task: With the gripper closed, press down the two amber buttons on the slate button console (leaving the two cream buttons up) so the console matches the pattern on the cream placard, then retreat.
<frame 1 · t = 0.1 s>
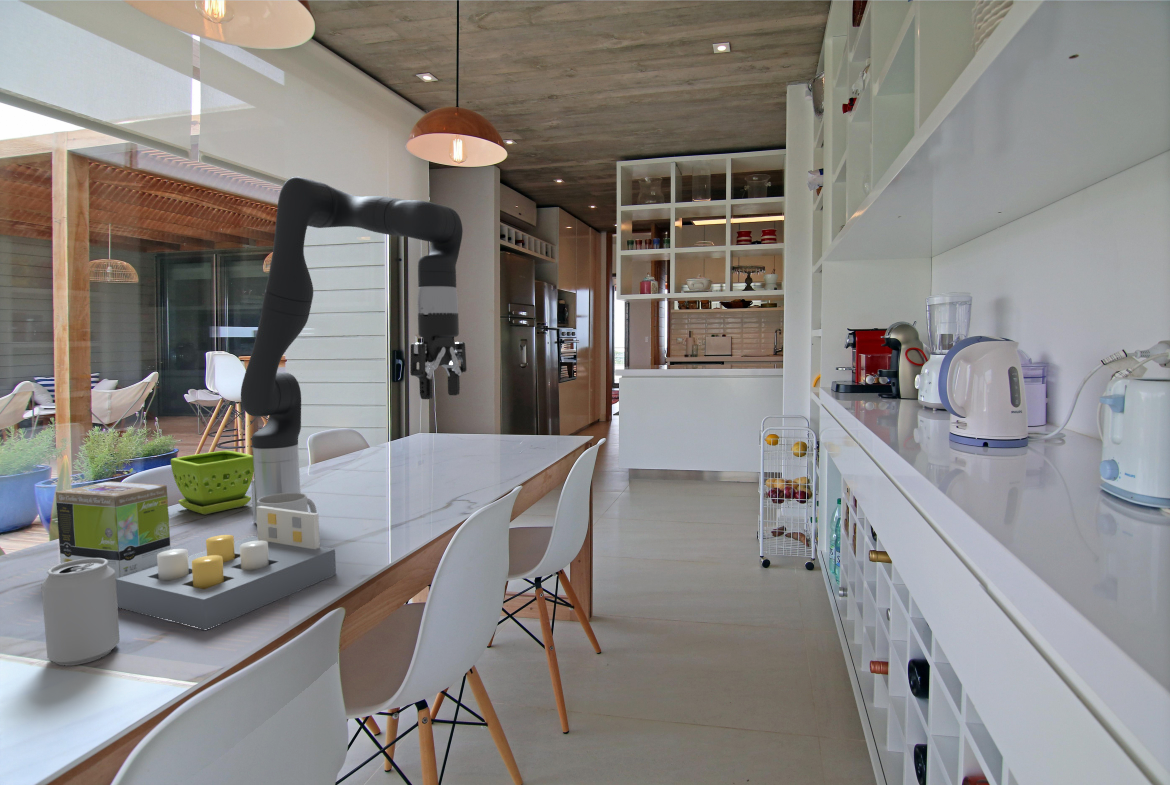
hand: (440, 397, 127), 29 cm above the table, fingers open, 8 cm apart
flower pot: (215, 508, 161), on the table
button amber 2: (208, 575, 99), point 5 cm above the table, slide at 0.0 cm
button cream 1: (173, 568, 102), point 5 cm above the table, slide at 0.0 cm
can: (85, 656, 86), on the table
button amber 1: (220, 553, 109), point 5 cm above the table, slide at 0.0 cm
console: (233, 590, 107), on the table
mug: (290, 547, 130), on the table
button cream 2: (254, 559, 106), point 5 cm above the table, slide at 0.0 cm
tea box: (117, 569, 118), on the table
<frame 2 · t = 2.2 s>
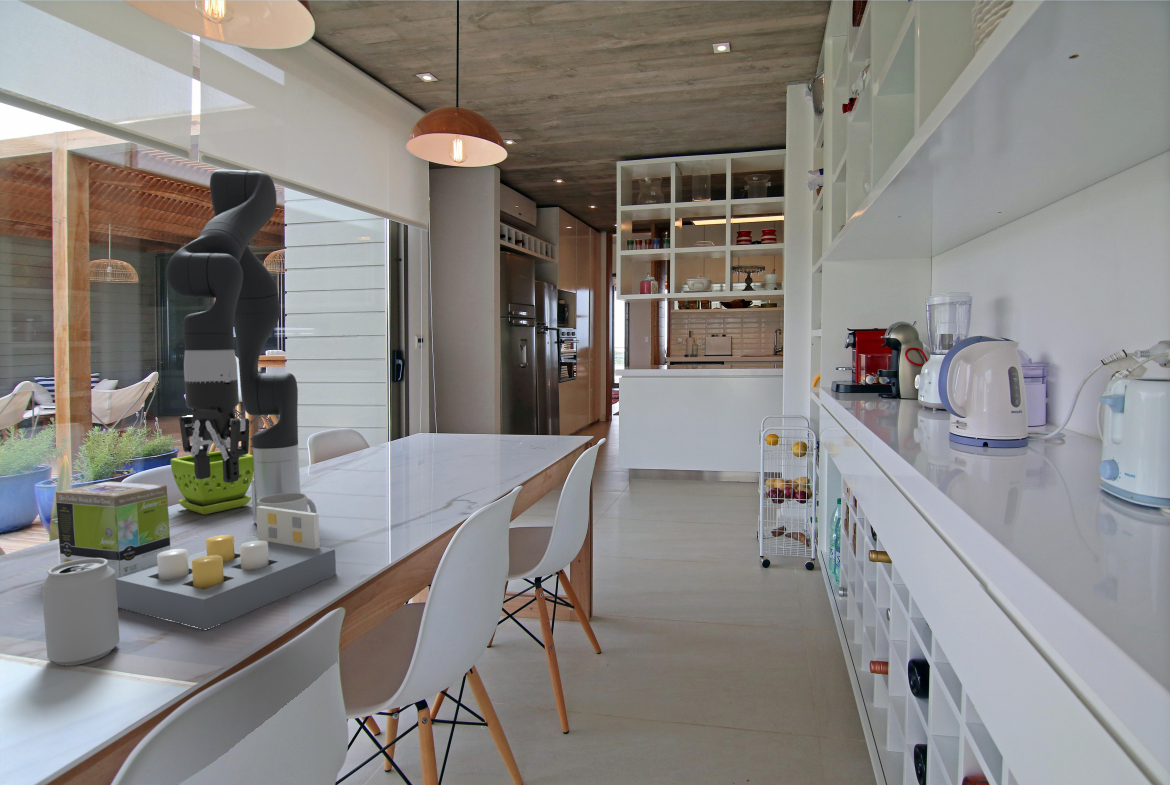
hand: (217, 479, 108), 18 cm above the table, fingers open, 6 cm apart
nothing on the table moved.
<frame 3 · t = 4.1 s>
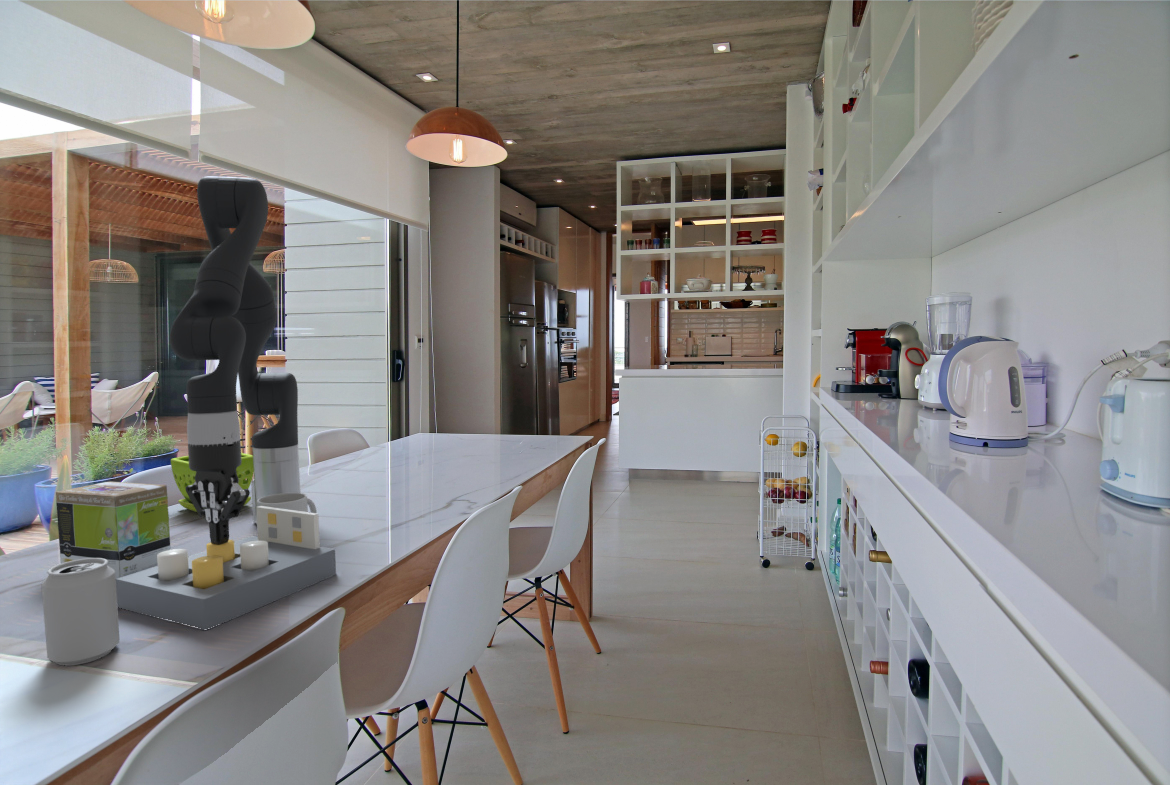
hand: (220, 543, 109), 7 cm above the table, fingers closed
button amber 1: (221, 557, 109), point 5 cm above the table, slide at 0.8 cm, touching gripper
everything else where it was.
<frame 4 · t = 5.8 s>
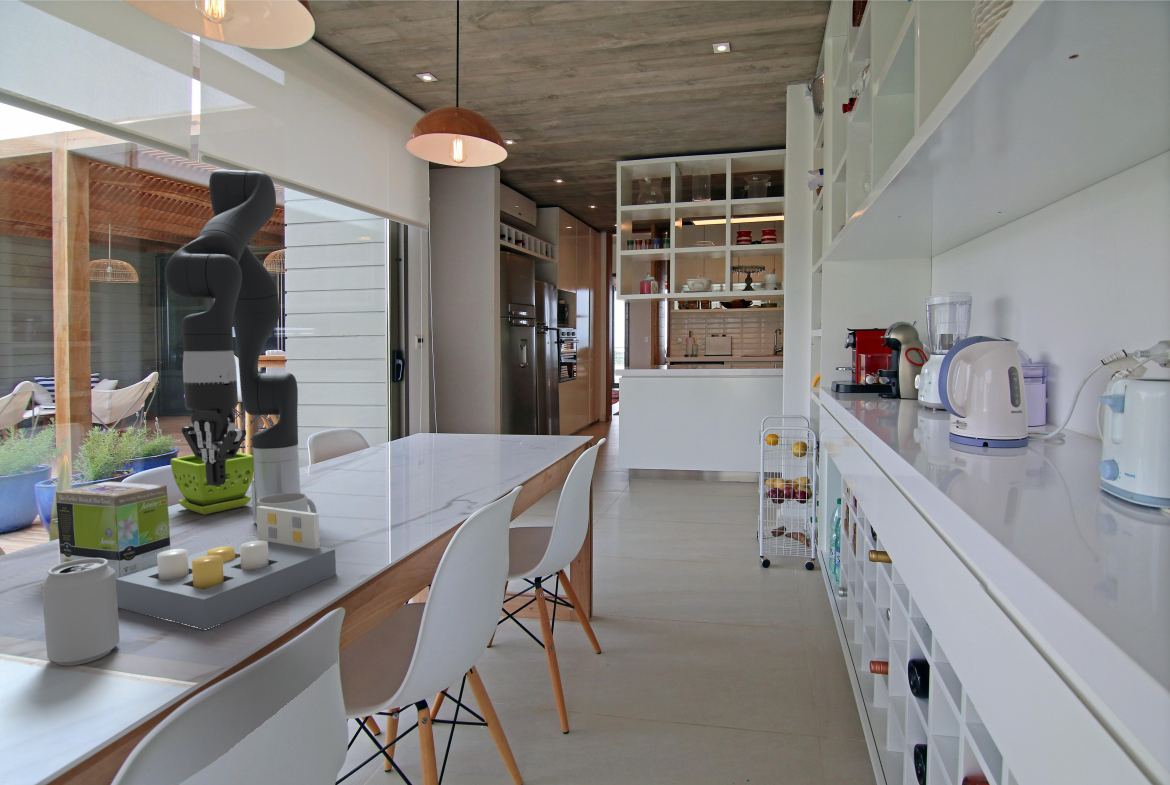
hand: (216, 484, 108), 17 cm above the table, fingers closed
button amber 1: (221, 565, 110), point 3 cm above the table, slide at 2.0 cm
everything else where it was.
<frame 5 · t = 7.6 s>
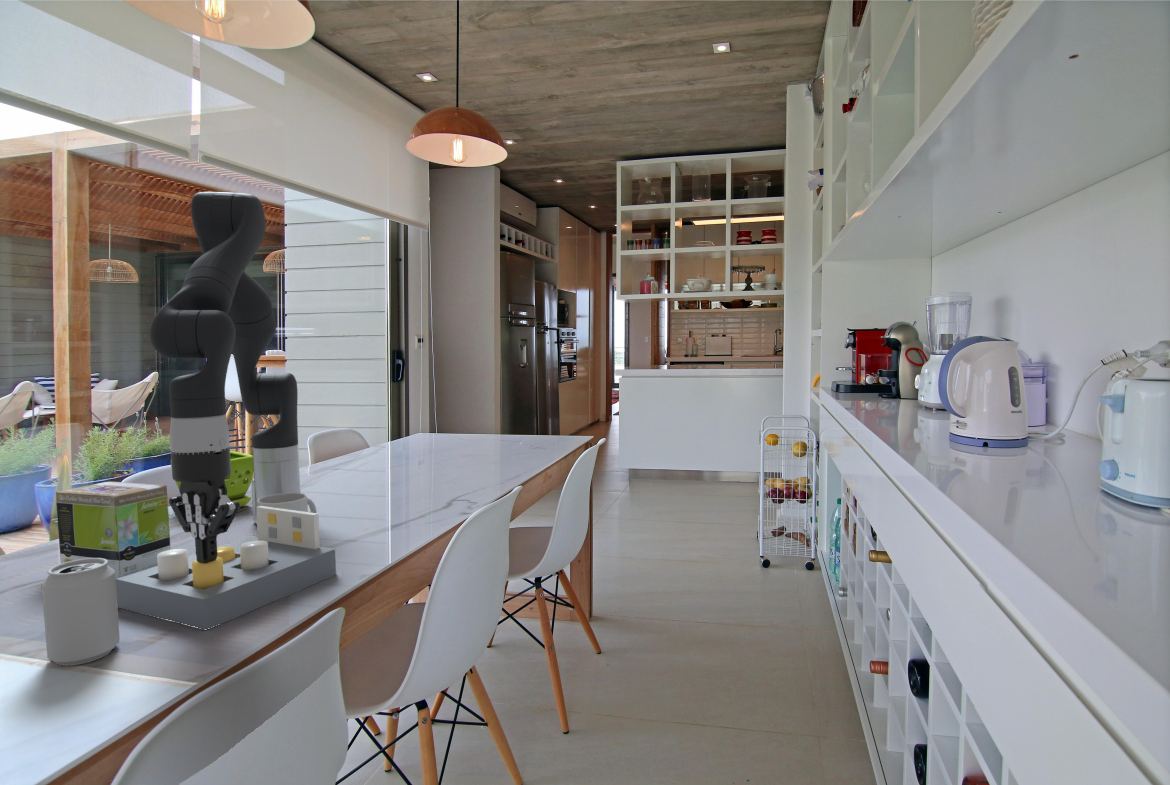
hand: (207, 561, 99), 8 cm above the table, fingers closed
button amber 2: (208, 577, 99), point 5 cm above the table, slide at 0.3 cm, touching gripper
everything else where it was.
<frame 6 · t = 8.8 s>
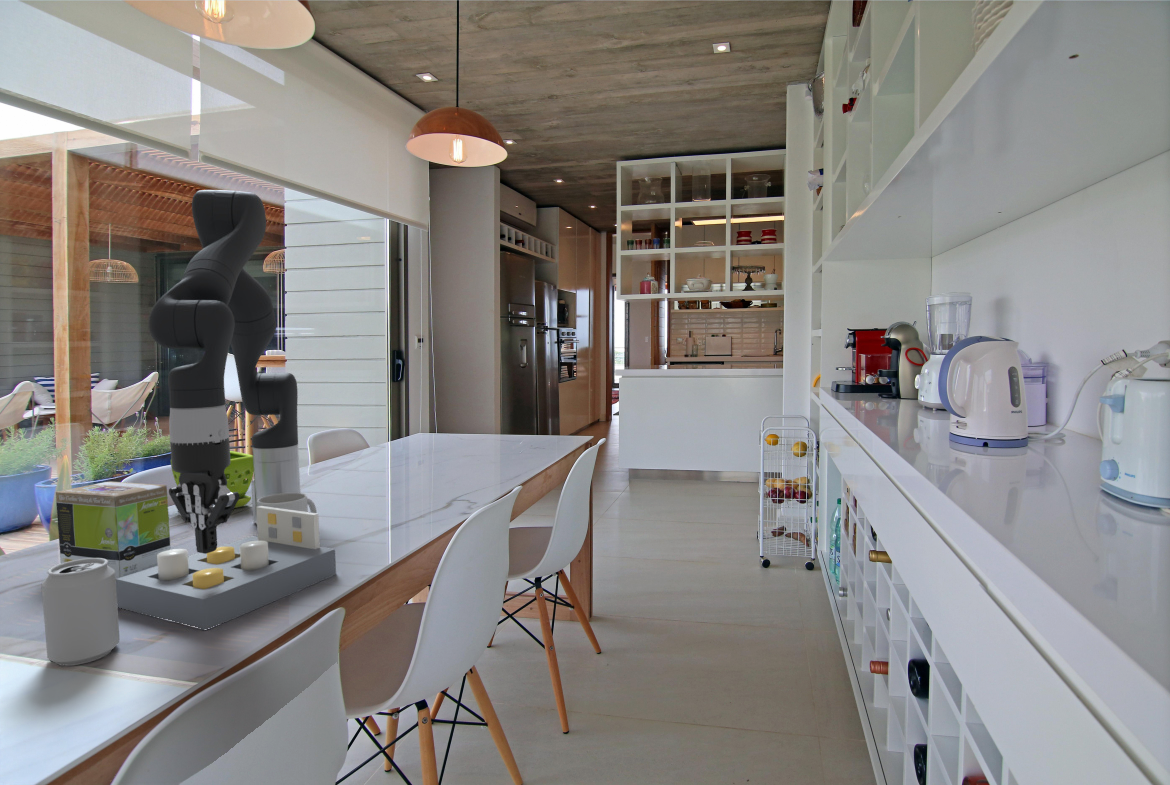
hand: (207, 551, 99), 9 cm above the table, fingers closed
button amber 2: (208, 588, 99), point 3 cm above the table, slide at 2.0 cm
everything else where it was.
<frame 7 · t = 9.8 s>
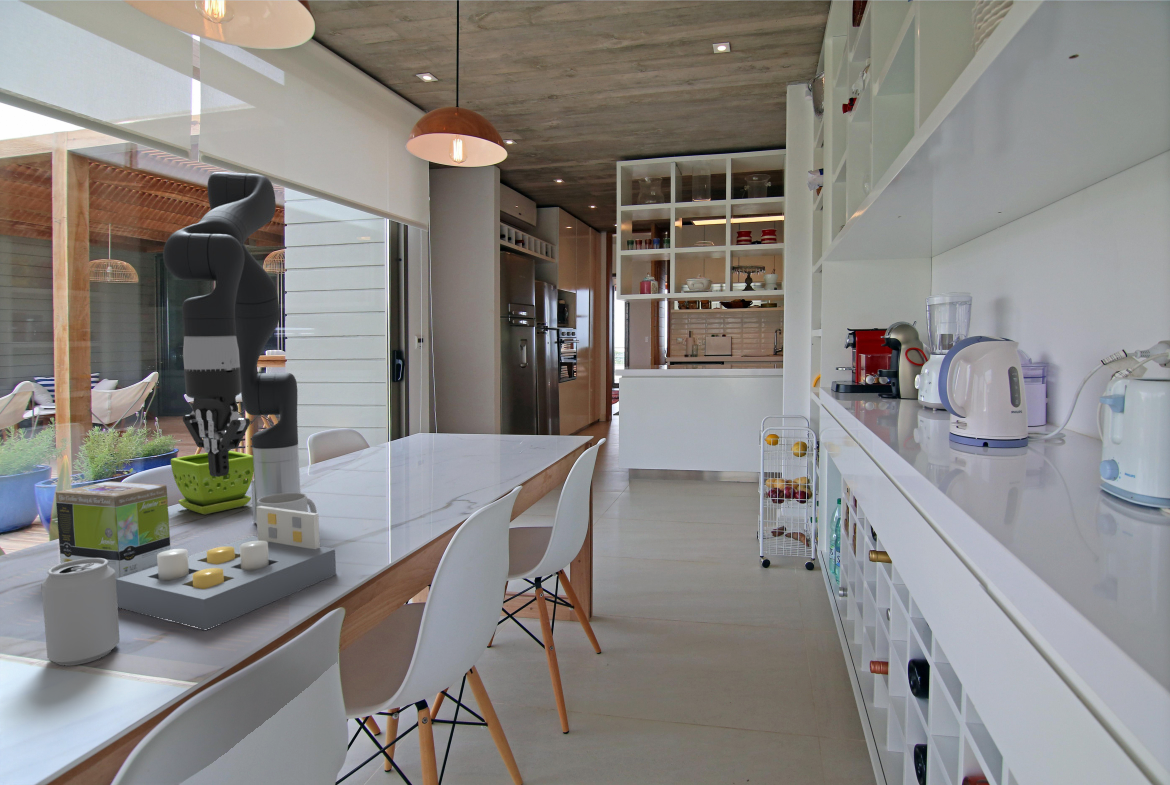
hand: (219, 475, 104), 19 cm above the table, fingers closed
nothing on the table moved.
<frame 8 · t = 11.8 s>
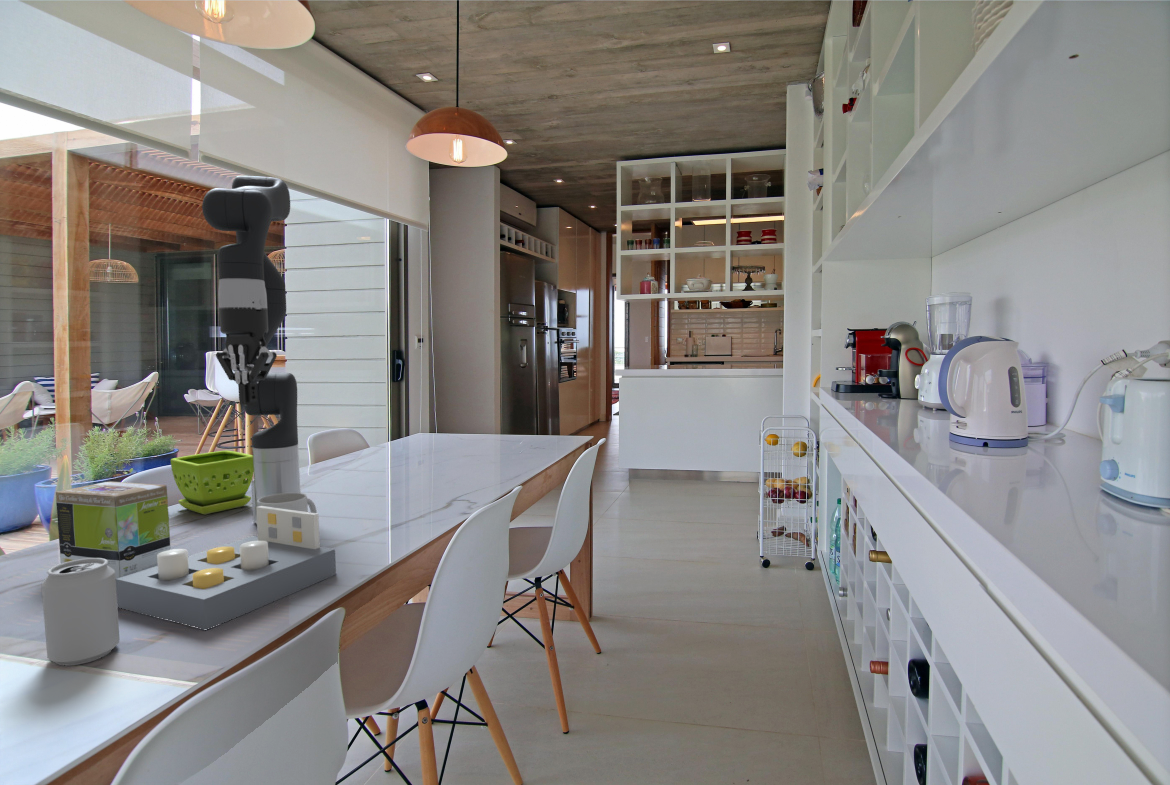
hand: (248, 405, 117), 29 cm above the table, fingers closed
nothing on the table moved.
at the end: button amber 1 slide at 2.0 cm; button amber 2 slide at 2.0 cm; button cream 1 slide at 0.0 cm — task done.
